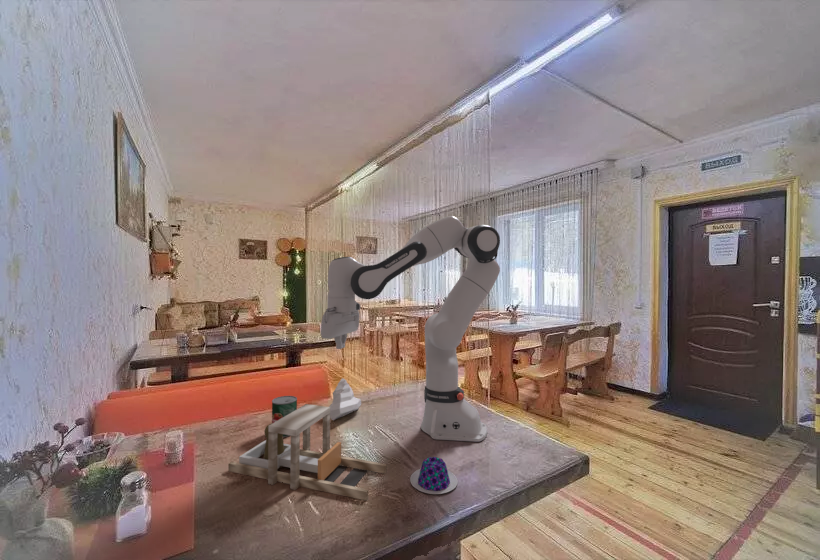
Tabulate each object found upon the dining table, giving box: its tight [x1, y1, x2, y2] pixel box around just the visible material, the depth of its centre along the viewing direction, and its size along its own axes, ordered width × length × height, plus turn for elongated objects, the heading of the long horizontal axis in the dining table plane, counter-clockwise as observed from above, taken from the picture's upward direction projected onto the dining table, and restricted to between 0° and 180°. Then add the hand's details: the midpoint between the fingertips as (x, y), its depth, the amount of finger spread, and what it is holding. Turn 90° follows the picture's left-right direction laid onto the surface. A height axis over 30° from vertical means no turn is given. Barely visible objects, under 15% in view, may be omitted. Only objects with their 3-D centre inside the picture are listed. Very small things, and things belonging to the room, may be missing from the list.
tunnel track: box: [227, 403, 388, 501], centre depth 93 cm, size 40×16×14 cm, turn 73°
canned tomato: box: [271, 395, 298, 438], centre depth 116 cm, size 8×8×11 cm
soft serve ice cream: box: [328, 377, 362, 421], centre depth 133 cm, size 12×15×14 cm
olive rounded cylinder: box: [263, 422, 285, 470], centre depth 96 cm, size 6×6×11 cm
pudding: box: [409, 456, 459, 495], centre depth 89 cm, size 12×12×5 cm
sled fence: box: [238, 440, 342, 480], centre depth 94 cm, size 25×10×6 cm, turn 73°
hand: (340, 348), depth 115 cm, fingers closed
